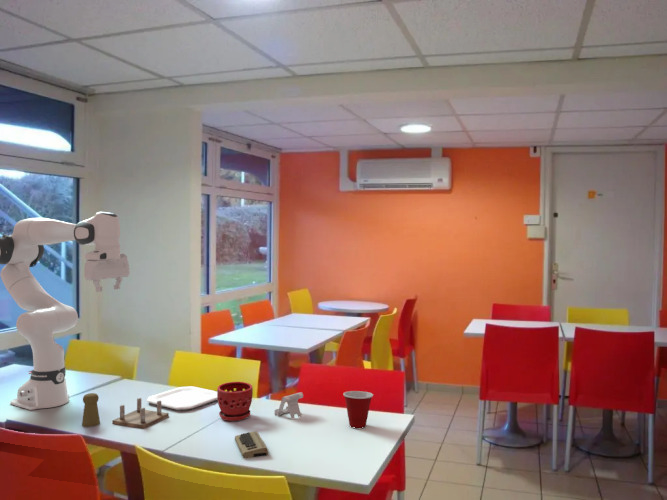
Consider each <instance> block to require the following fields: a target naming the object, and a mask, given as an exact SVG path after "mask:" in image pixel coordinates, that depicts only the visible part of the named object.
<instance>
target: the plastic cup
mask: <svg viewBox="0 0 667 500" xmlns="http://www.w3.org/2000/svg"><path fill="white" fill-rule="evenodd" d="M343 396H344V400H345V401H344V402H345V405H346V411H347V417H348V423H349V427H350V426H351V427H350V428H352V427H355V428H362V427H365V426H367V423H368V422H367V420H368V417H369V410H370V406H371V405H370V404H371V402H372V398H373V396H374V394H373V393H372V392H368V391H360V390H350V391H345V392H343ZM355 428H354V429H355ZM365 428H366V427H365ZM362 429H363V428H362Z"/></svg>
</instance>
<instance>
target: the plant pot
mask: <svg viewBox="0 0 667 500" xmlns="http://www.w3.org/2000/svg"><path fill="white" fill-rule="evenodd" d="M234 389H235V390H234ZM253 389H254V387H253V385H252V384H251V383H248V382H244V381H230V382H224V383H221V384H219V385H218V386H217V398H218V400H217V404H218V408H219V409H220V410H219V412H218V415H219V417H220V418H221V419H223V420H225V421H230V422H236V421H238V422H239V421H243V420H246V419H247V418H248V417H249V416H250V415H251V410H250V408H251V405H252V402H253V391H254V390H253Z"/></svg>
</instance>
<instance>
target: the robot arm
mask: <svg viewBox="0 0 667 500" xmlns="http://www.w3.org/2000/svg"><path fill="white" fill-rule="evenodd" d="M120 227H121V225H120V219H119V217H118V215H117V214H116V213H113V212H109V211H108V212H107V211H98V212H96V213H95V214H94V215H93V216H92V217H90V218H88V219H85V220H82V221H79V222H77V223H71V222H65V221H62V220H58V219H52V218H47V217H30V218H24V219H21V220H19V221H17V222H16V223H15V225H14V227H13V232H12V234H10V235H9V234H3V235H2V236H0V265H1V266H2V265H3V268H2V269H1V270H0V279H1V281H2V284H3V285H4V287H5V289H6V290H7V292H8V293H9V294H10V296H11V298H12V299H13V301H14V302H15V303H16V305H17V306H18V307H19V308H20V309H22V310H24V311H25V312H23V313H21V314H20V315H19V316H18V317H17V319H16V324H15V327H16V331H17V332H18V334H19V335H20V336H22V337H23V338H25V339H26V340H27V341H28V344H29V345H30V347H31V351H32V359H33V360H32V362H33V363H32V364H33V369H32V370H29V371H28V375H30V377H29V379H28V380H27V381H26V382H24V384H22V385H21V386H20V387H18V389H17V394H16V395H17V397H16V398H15V399H12V400H11V401H10V405H12V406H16V407H20V408H23V409H25V410H29V411H31V410H32V411H34V410H37V409H38V410H39V409H47V408H48V409H50V408H54V407H55V408H56V407H59V406H63V405H65V404H67V403H69V401H70V399H69V398H70V395H69V394H68V388H67V381H66V371H67V370H66V366H65V350H64V347H63V346H62V345H61V344H58V343H57V342H56V341H55V338H54V334H59V333H65V332H67V331H69V330H70V329H73V328H74V327H75V326H76V325H77V323H78V321H79V314H78V311H77V310H76V309H75V308H74V307H73V306H70V305H68V304H64V303H62V302H61V301H60V300H57V299H56V298H54V297H53V296H51V294H49V293H48V292H47V291H46V290H45V289H44V287H42V285H41V284H40V282H39V281H38V279H36V277H35V276H34V275H33V274H32V272H31V270H30V268H34V267H36V266H37V263H39V261H41V259H42V258H43V255H45V254H44V253H45V246H48V245H50V246H51V245H55V244H60V243H66V242H71V241H72V242H73V241H76V243H77V244H79V245H81V246H82V245H83V246H94V248H95V249H93V250H91V251H89V252H87V253H85V254H84V260H86V261H85V262H84V270H83V271H84V273H83V274H84V278H85V280H86V281H92V283H93V285H94V287H95V292H96V293H101V292H103V286H101V285H100V283H101V280H108V279H110V280H111V279H115V284H113V289H114V290H120V289H121V284H122V282H123V278H127V277H129V275H130V265H129V260H128V256H127V255H126V254H125V253H121V245H120V236H121V228H120Z"/></svg>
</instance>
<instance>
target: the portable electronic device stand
mask: <svg viewBox="0 0 667 500" xmlns="http://www.w3.org/2000/svg"><path fill="white" fill-rule="evenodd" d="M303 398H304V394H303V392H302V391H301V392H296V393H294V394H290V395H286V396H282V397H281V402H280V404H279V408H277V409H274V415H275V416H276V417H278V416H279V417H280V416H281V415H285V414H288V413H289V416H290V419H291V418H294V419H295V415H297V417H298V418H300V417H302V414H301V413H302V412H301V410H300V405H299V402H298V401H299V399H303ZM285 403H287V406H285ZM299 416H300V417H299Z"/></svg>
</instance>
